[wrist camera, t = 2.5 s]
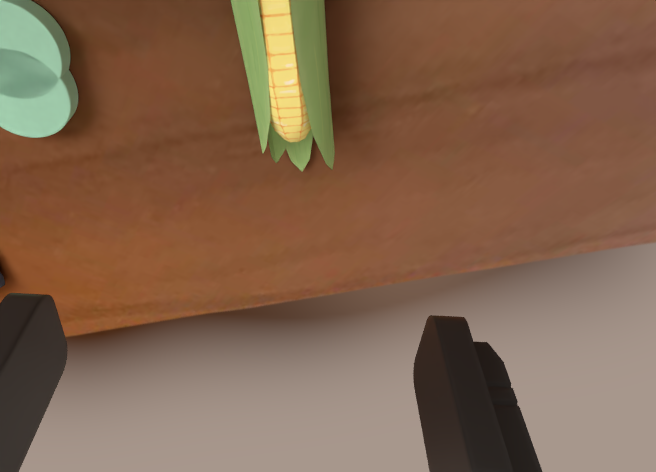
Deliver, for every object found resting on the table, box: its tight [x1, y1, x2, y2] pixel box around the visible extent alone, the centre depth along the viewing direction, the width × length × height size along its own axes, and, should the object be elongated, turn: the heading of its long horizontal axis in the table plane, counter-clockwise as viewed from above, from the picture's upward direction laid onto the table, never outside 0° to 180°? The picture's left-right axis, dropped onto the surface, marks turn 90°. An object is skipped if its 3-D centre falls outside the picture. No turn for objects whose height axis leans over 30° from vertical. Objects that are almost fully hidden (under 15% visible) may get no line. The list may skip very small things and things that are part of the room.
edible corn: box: [231, 0, 335, 171], centre depth 28 cm, size 5×20×5 cm, turn 4°
